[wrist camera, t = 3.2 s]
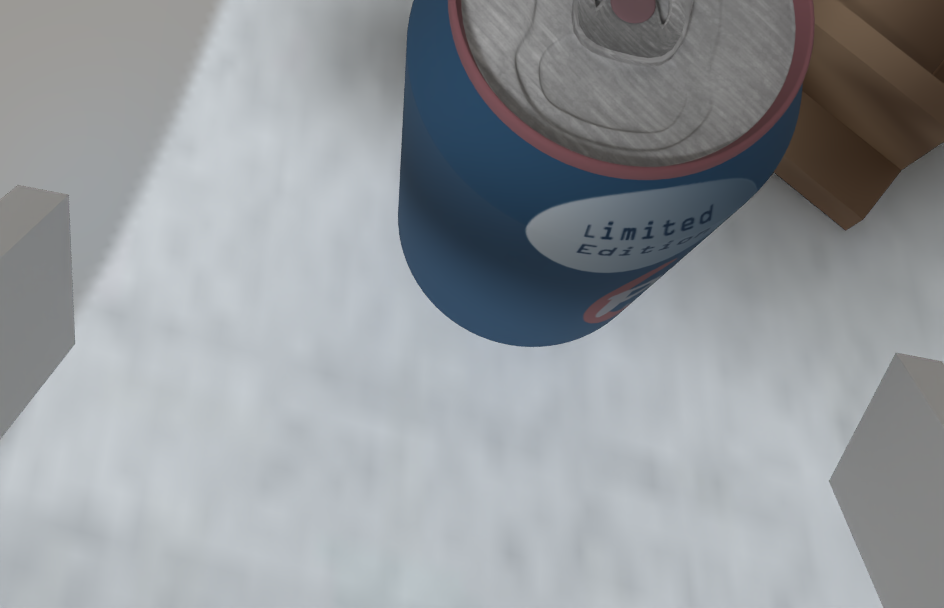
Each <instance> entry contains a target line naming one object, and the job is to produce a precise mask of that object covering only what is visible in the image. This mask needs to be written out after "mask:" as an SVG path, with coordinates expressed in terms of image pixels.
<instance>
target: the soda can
mask: <svg viewBox="0 0 944 608" xmlns="http://www.w3.org/2000/svg"><path fill="white" fill-rule="evenodd" d="M814 28H815V17H814V4H813V0H414V1H413V4H412V9H411V13H410V17H409V24H408V31H407V48H406V68H405V88H404V108H403V128H402V148H401V167H400V187H399V207H398V226H399V235H400V240H401V245H402V249H403V253H404V256H405V258H406V261H407V264H408V266H409V268H410V270H411V273H412V274H413V276H414V278H415V280H416V282H417V283H418V285H419V286H420V288H421V289H422V291H423V292H424V293H425V295H426V296H427V297H428V298H429V300H430V301H431V302H432V303H433V304H434V305H435V306H436V307H437V308H438V309H439V310H440V311H441V312H442V313H443V314H445V315H446V316H447V317H448V318H450V319H451V320H452V321H454V322H455V323H457V324H458V325H460V326H461V327H463V328H465V329H466V330H468V331H470V332H472V333H474V334H476V335H478V336H481V337H483V338H486V339H489V340H492V341H495V342H499V343H503V344H508V345H514V346H525V347H542V346H551V345H557V344H562V343H566V342H570V341H573V340H576V339H579V338H581V337H584V336H586V335H588V334H590V333H592V332H594V331H596V330H598V329H599V328H601V327H602V326H604V325H605V324H607V323H608V322H610V321H611V320H612V319H613V318H615V317H616V316H617V315H618V314H619V313H620V312H622V311H623V310H624V309H625V308H626V307H627V306H628V305H630V304H631V303H632V302H633V301H634V300H635V299H636V298H638V297H639V296H640V295H641V294H642V293H643V292H644V291H646V290H647V289H648V288H649V287H650V286H651V285H652V284H654V283H655V282H656V281H657V280H658V279H659V278H660V277H662V276H663V275H664V274H665V273H666V272H667V271H668V270H670V269H671V268H672V267H673V266H674V265H675V264H676V263H677V262H679V261H680V260H681V259H682V258H683V257H684V256H685V255H687V254H688V253H689V252H690V251H691V250H692V249H693V248H695V247H696V246H697V245H698V244H699V243H700V242H701V241H703V240H704V239H705V238H706V237H707V236H708V235H709V234H711V233H712V232H713V231H714V230H715V229H716V228H717V227H719V226H720V225H721V224H722V223H723V222H724V221H725V220H727V219H728V218H729V217H730V216H731V215H732V214H733V213H735V212H736V211H737V210H738V209H739V208H740V207H741V206H743V205H744V204H745V203H746V202H747V201H748V200H749V199H750V198H751V197H752V196H753V195H754V194H756V193H757V191H758V190H759V189H760V188H761V187H762V186H763V185H764V184H765V183H766V181H767V180H768V179H769V177H770V176H771V175H772V173H773V172H774V171H775V169H776V168H777V166H778V165H779V163H780V161H781V160H782V158H783V156H784V154H785V152H786V150H787V148H788V146H789V144H790V141H791V139H792V136H793V133H794V131H795V127H796V124H797V120H798V116H799V111H800V105H801V98H802V88H803V81H804V78H805V75H806V73H807V70H808V67H809V63H810V59H811V55H812V49H813V42H814Z"/></svg>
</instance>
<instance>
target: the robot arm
mask: <svg viewBox="0 0 944 608" xmlns="http://www.w3.org/2000/svg"><path fill="white" fill-rule="evenodd" d="M74 345H75V328H74V305H73V283H72V260H71V237H70V215H69V195H67V194H62V193H57V192H52V191H46V190H41V189H36V188H31V187H25V186H20V185H17V186H16V187H15V188H14V189H12V190H11V191H10V192H9V193H7V194H6V195H5V196H4V197H3V198H1V199H0V439H1V438H2V436H3V435H4V434H5V433H6V431H7V430H8V429H9V427H10V426H11V425H12V424H13V422H14V421H15V420H16V419H17V417H18V416H19V415H20V413H21V412H22V411H23V410H24V408H25V407H26V406H27V404H28V403H29V402H30V401H31V399H32V398H33V397H34V396H35V394H36V393H37V392H38V390H39V389H40V388H41V387H42V385H43V384H44V383H45V382H46V380H47V379H48V378H49V376H50V375H51V374H52V373H53V371H54V370H55V369H56V368H57V366H58V365H59V364H60V362H61V361H62V360H63V359H64V357H65V356H66V355H67V353H68V352H69V351H70V350H71V348H72V347H73V346H74ZM829 482H830V485H831V487H832V489H833V492H834V494H835V496H836V498H837V501H838V503H839V505H840V508H841V510H842V512H843V515H844V517H845V519H846V522H847V524H848V526H849V529H850V531H851V533H852V536H853V538H854V540H855V543H856V545H857V547H858V550H859V552H860V554H861V557H862V559H863V561H864V563H865V566H866V568H867V570H868V573H869V575H870V577H871V580H872V582H873V584H874V587H875V589H876V591H877V594H878V596H879V598H880V601H881V603H882V605H883V608H944V364H943V363H942V361H937V360H931V359H926V358H921V357H916V356H910V355H905V354H900V353H896V354H895V355H894V357H893V359H892V361H891V363H890V365H889V367H888V369H887V371H886V373H885V375H884V377H883V379H882V380H881V382H880V384H879V386H878V388H877V390H876V392H875V394H874V396H873V398H872V400H871V402H870V403H869V405H868V407H867V409H866V411H865V413H864V415H863V417H862V419H861V421H860V423H859V425H858V426H857V428H856V430H855V432H854V434H853V436H852V438H851V440H850V442H849V444H848V446H847V448H846V450H845V451H844V453H843V455H842V457H841V459H840V461H839V463H838V465H837V467H836V469H835V471H834V473H833V474H832V476H831V478H830V480H829Z"/></svg>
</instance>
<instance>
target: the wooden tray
mask: <svg viewBox="0 0 944 608" xmlns="http://www.w3.org/2000/svg"><path fill="white" fill-rule="evenodd" d="M813 4H814V17H815V28H814V42H813V49H812V55H811V59H810V63H809V67H808V70H807V73H806V75H805V78H804V81H803V88H802V98H801V105H800V111H799V116H798V120H797V124H796V127H795V131H794V133H793V136H792V139H791V141H790V144H789V146H788V148H787V150H786V152H785V154H784V156H783V158H782V160H781V161H780V163H779V165H778V166H777V168H776V169H775V171H774V173H776V174H777V175H778V176H779V177H781V178H782V179H783V180H784V181H785V182H787V183H788V184H789V185H790V186H792V187H793V188H794V189H795V190H797V191H798V192H799V193H800V194H801V195H803V196H804V197H805V198H806V199H808V200H809V201H810V202H811V203H812V204H814V205H815V206H816V207H817V208H819V209H820V210H821V211H822V212H824V213H825V214H826V215H827V216H828V217H830V218H831V219H832V220H833V221H835V222H836V223H837V224H838V225H840V226H841V227H842V228H843V229H844V230H847V229H849V228H850V227H852V226H854V225H855V224H857V223H858V222H860V221H862V220H863V219H864V218H865V217H866V215H867V214H868V213H869V211H870V210H871V209H872V207H873V206H874V205H875V204H876V202H877V201H878V200H879V198H880V197H881V196H882V195H883V193H884V192H885V191H886V189H887V188H888V187H889V186H890V184H891V183H892V182H893V180H894V179H895V178H896V177H897V175H898V174H899V173H900V171H901V170H902V169H904V168H905V167H907V166H908V165H910V164H911V163H913V162H914V161H916V160H917V159H919V158H920V157H922V156H923V155H925V154H926V153H928V152H929V151H931V150H932V149H934V148H935V147H937V146H938V145H940V144H941V143H943V142H944V0H813Z"/></svg>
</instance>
